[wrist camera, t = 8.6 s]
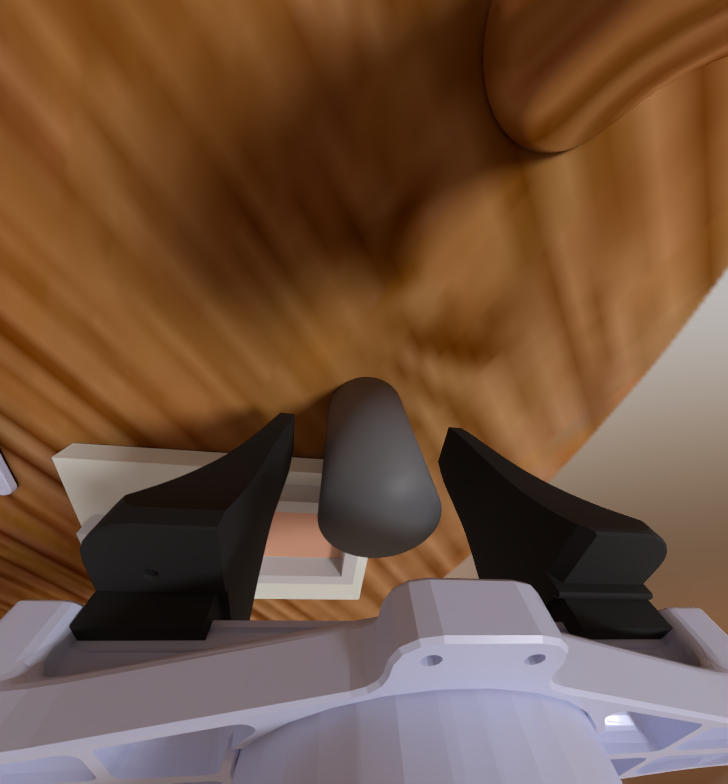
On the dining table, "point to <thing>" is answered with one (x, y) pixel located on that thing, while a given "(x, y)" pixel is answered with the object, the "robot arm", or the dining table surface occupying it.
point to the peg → (374, 475)
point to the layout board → (287, 532)
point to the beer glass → (590, 61)
